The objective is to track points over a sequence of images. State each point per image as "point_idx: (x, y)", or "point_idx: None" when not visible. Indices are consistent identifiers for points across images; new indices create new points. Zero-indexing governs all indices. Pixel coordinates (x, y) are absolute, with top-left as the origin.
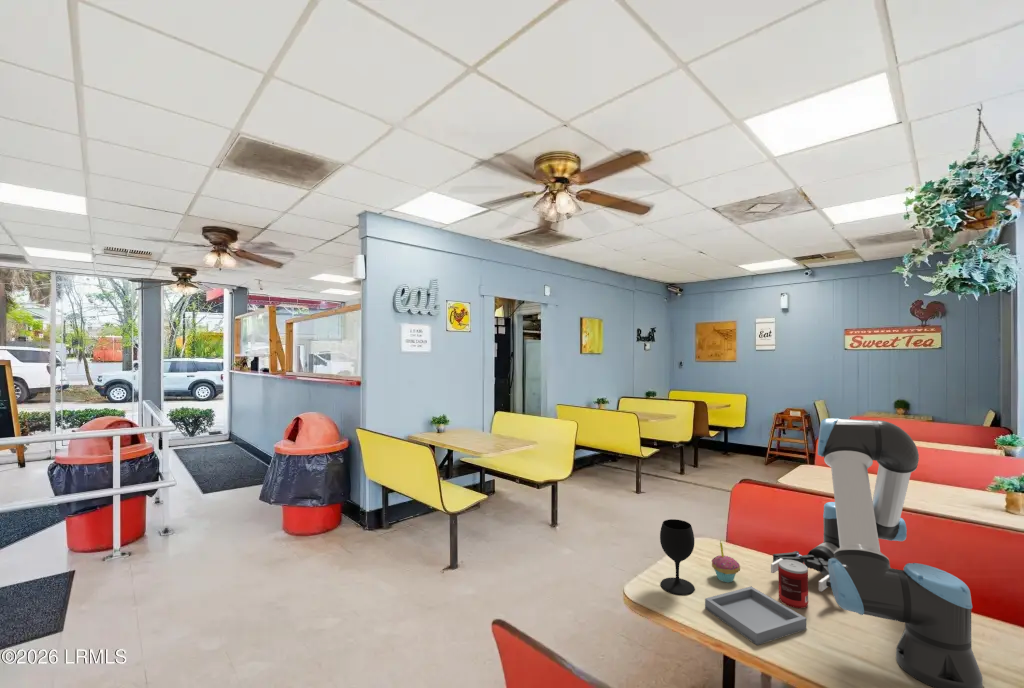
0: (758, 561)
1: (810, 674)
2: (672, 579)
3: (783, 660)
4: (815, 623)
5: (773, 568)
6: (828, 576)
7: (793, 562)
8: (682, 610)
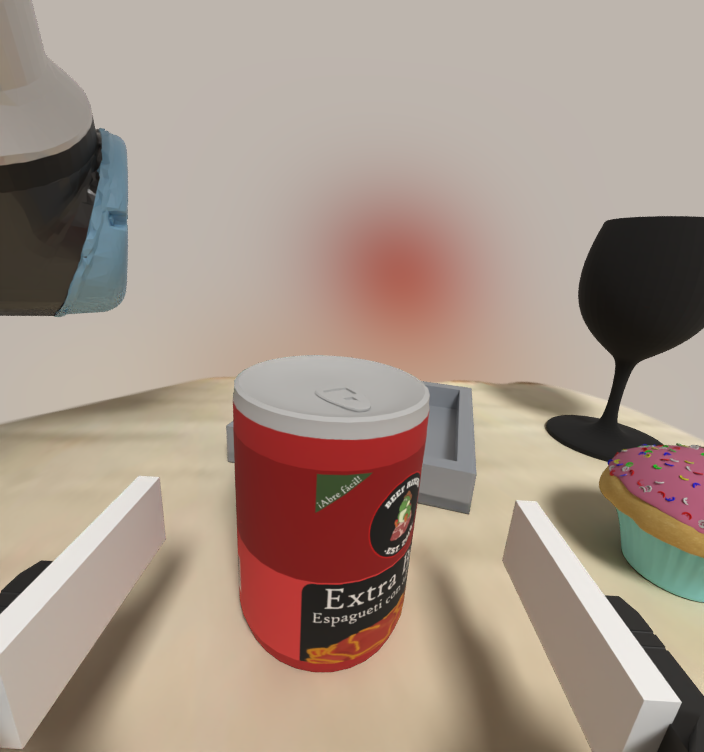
0: None
1: (208, 381)
2: (645, 442)
3: None
4: (198, 499)
5: (511, 531)
6: (15, 609)
7: (356, 415)
8: (481, 397)
